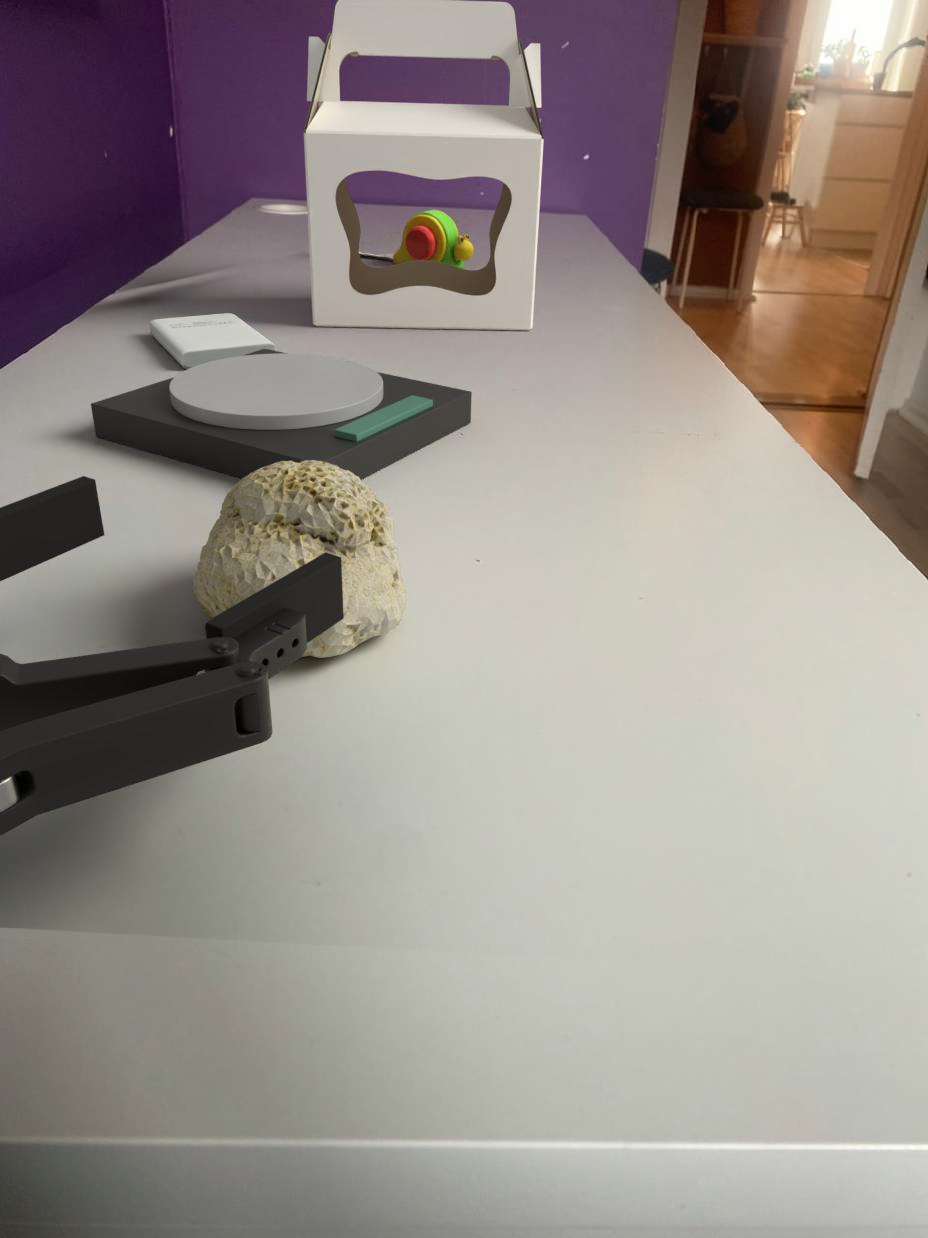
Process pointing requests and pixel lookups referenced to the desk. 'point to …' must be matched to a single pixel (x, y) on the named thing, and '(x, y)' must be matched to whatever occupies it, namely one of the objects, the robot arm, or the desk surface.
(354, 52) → the gable box
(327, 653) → the decorative item
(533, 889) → the desk surface
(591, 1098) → the desk surface
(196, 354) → the hard drive
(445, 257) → the toy measuring tape
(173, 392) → the scale
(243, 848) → the desk surface
